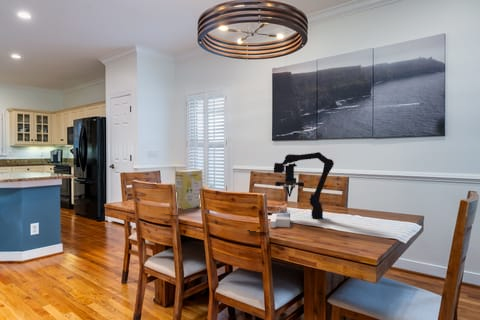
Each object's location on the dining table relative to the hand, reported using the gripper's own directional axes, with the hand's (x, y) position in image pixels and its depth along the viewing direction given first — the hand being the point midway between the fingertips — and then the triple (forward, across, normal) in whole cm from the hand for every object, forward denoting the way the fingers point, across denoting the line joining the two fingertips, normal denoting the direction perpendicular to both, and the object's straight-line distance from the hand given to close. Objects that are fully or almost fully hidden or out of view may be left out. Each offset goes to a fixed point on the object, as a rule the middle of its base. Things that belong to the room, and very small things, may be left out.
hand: (289, 196), depth 208 cm
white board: (+13, -9, -21) cm, 26 cm away
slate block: (+13, -4, -15) cm, 21 cm away
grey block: (+13, -4, -25) cm, 29 cm away
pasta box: (+13, -77, +22) cm, 81 cm away
